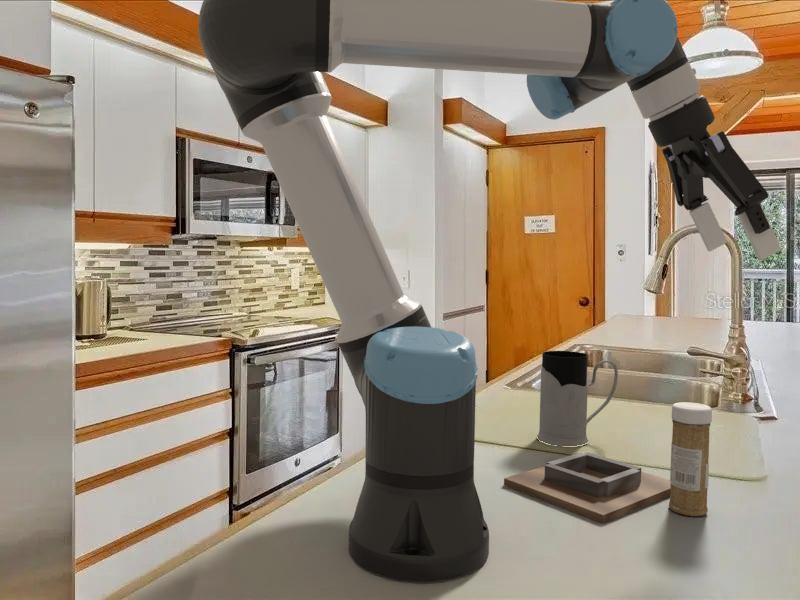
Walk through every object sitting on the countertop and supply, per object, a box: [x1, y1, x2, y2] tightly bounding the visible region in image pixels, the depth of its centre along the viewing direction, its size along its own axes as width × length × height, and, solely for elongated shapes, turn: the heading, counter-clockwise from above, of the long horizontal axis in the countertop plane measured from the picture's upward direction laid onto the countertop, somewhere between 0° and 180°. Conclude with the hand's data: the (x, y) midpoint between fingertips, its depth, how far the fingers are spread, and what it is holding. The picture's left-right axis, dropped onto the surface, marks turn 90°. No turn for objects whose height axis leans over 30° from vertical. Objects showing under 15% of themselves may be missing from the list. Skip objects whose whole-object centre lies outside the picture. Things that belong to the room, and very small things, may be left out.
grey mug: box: [536, 350, 619, 446], centre depth 113 cm, size 9×14×15 cm, turn 100°
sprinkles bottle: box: [668, 401, 713, 517], centre depth 82 cm, size 5×5×13 cm
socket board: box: [503, 452, 671, 524], centre depth 90 cm, size 18×16×3 cm
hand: (741, 250), depth 88 cm, fingers open, 13 cm apart
